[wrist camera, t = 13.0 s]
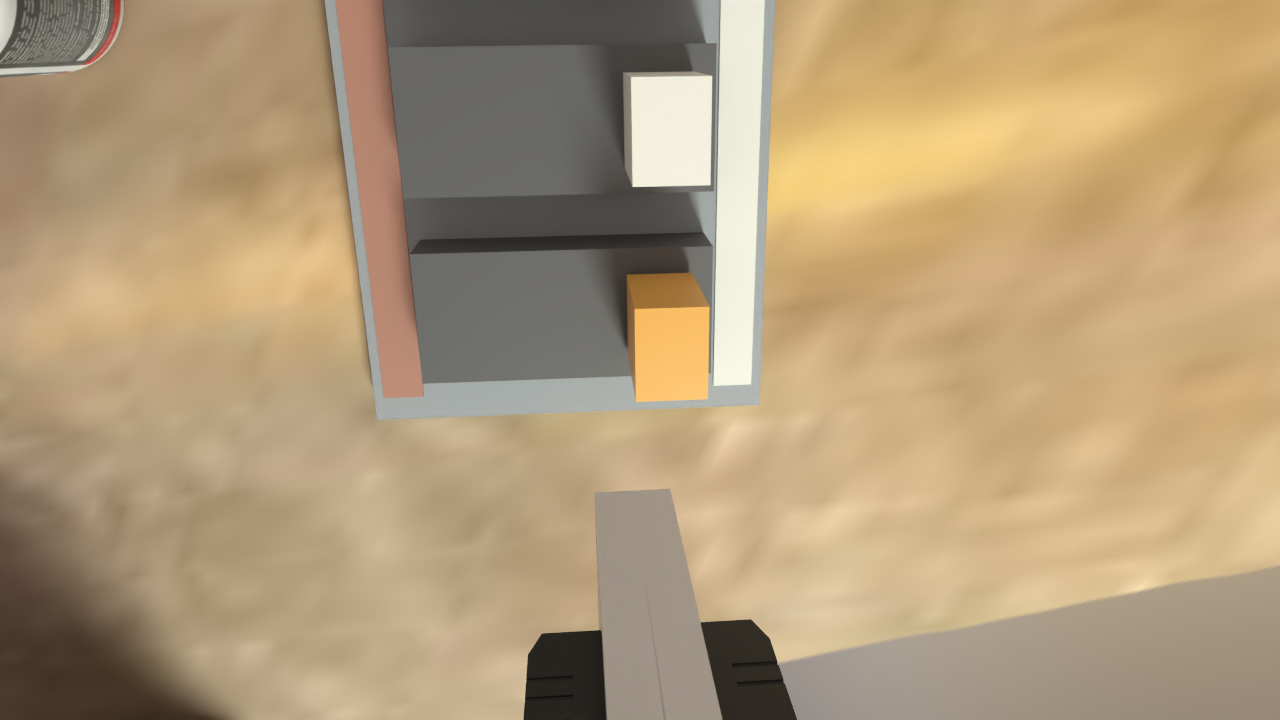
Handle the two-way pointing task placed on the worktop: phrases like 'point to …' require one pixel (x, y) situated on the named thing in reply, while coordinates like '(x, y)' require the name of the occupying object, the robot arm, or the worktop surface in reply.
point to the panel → (550, 192)
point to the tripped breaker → (667, 337)
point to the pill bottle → (55, 34)
